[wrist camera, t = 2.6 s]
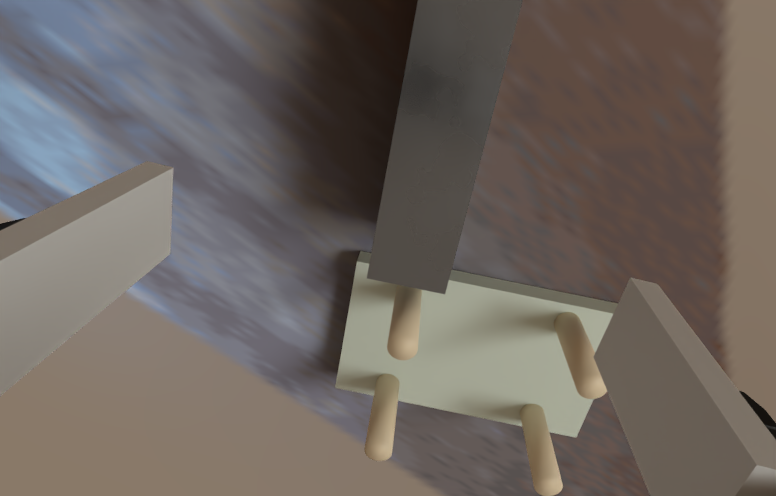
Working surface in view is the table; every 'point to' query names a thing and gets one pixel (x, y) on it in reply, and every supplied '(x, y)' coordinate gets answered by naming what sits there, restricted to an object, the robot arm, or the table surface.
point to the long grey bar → (439, 137)
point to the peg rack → (475, 357)
